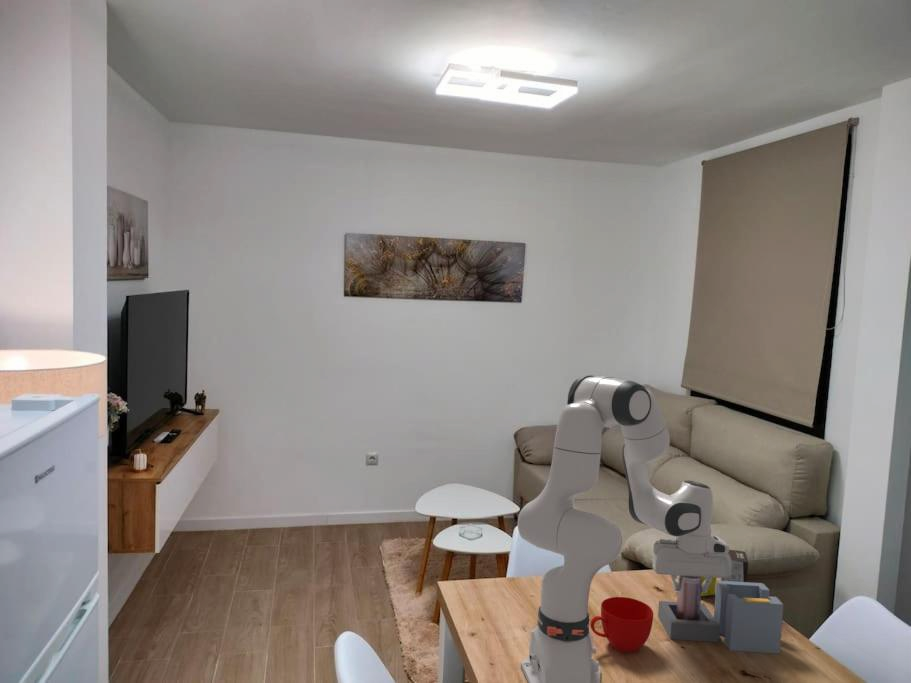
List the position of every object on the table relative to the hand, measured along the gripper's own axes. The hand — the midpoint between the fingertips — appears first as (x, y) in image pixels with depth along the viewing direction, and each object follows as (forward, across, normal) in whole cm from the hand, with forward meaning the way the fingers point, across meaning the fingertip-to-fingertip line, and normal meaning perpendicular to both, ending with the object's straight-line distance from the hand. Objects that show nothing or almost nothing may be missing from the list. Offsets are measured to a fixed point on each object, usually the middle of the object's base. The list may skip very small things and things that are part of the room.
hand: (689, 590), depth 180 cm
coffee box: (+11, +17, +14) cm, 25 cm away
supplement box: (+11, +11, +23) cm, 28 cm away
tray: (+11, 0, 0) cm, 11 cm away
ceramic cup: (+11, -21, -12) cm, 26 cm away
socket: (+11, +14, -4) cm, 18 cm away
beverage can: (+11, 0, 0) cm, 11 cm away
